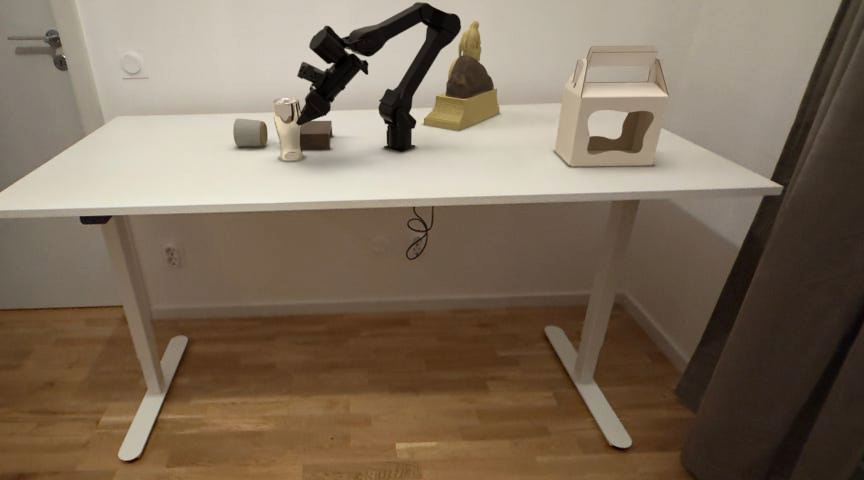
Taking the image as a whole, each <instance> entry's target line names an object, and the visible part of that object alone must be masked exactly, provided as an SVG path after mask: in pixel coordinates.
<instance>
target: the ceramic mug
mask: <svg viewBox="0 0 864 480" xmlns="http://www.w3.org/2000/svg"><path fill="white" fill-rule="evenodd" d="M232 132H233V133H232V134H233V141H234V144H235V145H236V147H239V148H240V147H241V148H243V147H246V148H249V147H251V148H252V147H253V148H262V147H265V146H266V145H267V142H268V137H269V135H268V133H269V132H268V126H267V124H266V122H265V121H263V120H258V119H250V118H249V119H247V118H235V120H234V122H233V131H232Z"/></svg>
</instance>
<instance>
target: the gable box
mask: <svg viewBox="0 0 864 480" xmlns="http://www.w3.org/2000/svg"><path fill="white" fill-rule="evenodd" d="M658 54H659V52H658V51H657V48H656V46H654V45H593V46H591V47H589V49H588V53H587V56H586V58H583V59H577V61H576V65H575V69H574V71H573V73H572V74H571V76H570V78H569V79H568V80H567V82H566V83H565V85H564V87H563V91H562V92H563V93H562V99H561V106H560V113H559V119H558V126H557V133H556V138H555V146H554V152H555V153H556V154H557V155H558V156H559V157H560V158H561V159H562V160H563V161H564V162H565V163H566V164H567V165H568V166H569V167H571V168H572V167H573V168H575V167H577V168H578V167H634V166H635V167H637V166H638V167H641V166H643V167H645V166H652V165H653V163H654V160H655V156H656V151H657V147H658V143H659V139H660V134H661V131H662V127H663V123H664V118H665V116H666V115H665V114H666V111H667V107H668V102H669V98H670V95H669V91H668V88H667V87H668V86H667V84H666V79H665V76H664V72H663V68H664V61H665V59H658V58H657V56H658ZM591 67H592V68H595V67H645V68H646V67H649V69H648V73H647V77H646V81H598V82H597V81H596V82H595V81H592V82H591V81H590V82H589V81H588V82H586V81H587V75H588V71H589V69H590V68H591ZM599 111H613V112H614V111H615V112H619V113H627V115H626V116H625V119H624V120H623V123H622V126H621V127H622V128H621V134H620V136H619V137H617V138H609V137H606V136H601V135H591V136H590V130H589V119H590V116H591V115H593V114H594V113H595V112H599Z"/></svg>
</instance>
